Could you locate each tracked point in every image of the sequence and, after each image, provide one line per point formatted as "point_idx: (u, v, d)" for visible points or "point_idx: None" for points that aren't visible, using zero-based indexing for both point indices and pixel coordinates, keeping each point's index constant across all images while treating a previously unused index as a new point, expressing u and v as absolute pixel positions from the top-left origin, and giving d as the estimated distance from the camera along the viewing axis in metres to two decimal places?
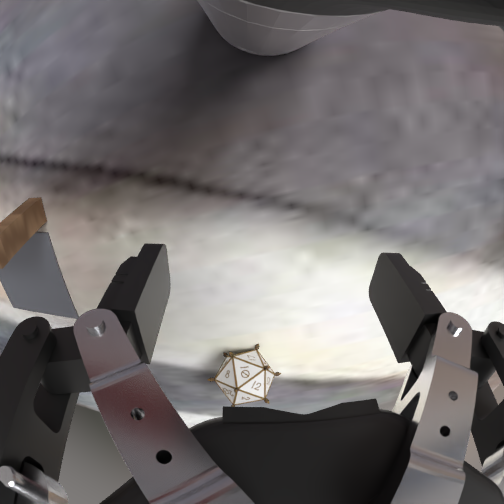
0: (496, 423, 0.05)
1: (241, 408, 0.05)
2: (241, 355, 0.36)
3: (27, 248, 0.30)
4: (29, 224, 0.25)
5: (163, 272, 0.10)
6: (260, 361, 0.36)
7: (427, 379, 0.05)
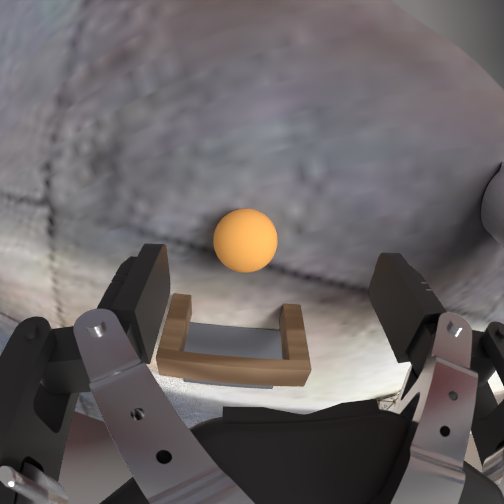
0: (496, 423, 0.05)
1: (241, 408, 0.05)
2: None
3: (252, 341, 0.37)
4: None
5: (163, 272, 0.10)
6: None
7: (427, 379, 0.05)
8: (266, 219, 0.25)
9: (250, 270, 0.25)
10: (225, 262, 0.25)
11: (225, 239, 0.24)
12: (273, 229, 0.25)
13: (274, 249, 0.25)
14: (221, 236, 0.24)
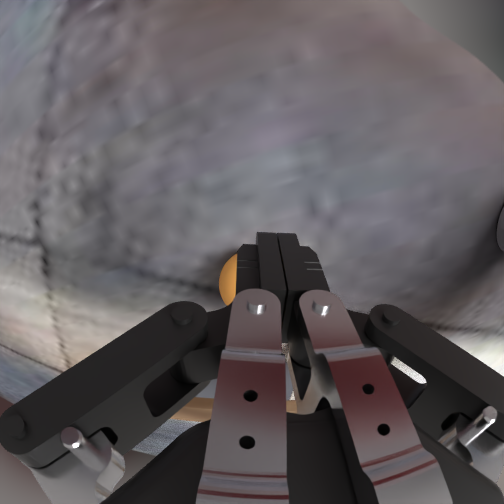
0: (429, 407, 0.06)
1: None
2: None
3: None
4: None
5: None
6: None
7: (328, 383, 0.05)
8: None
9: None
10: None
11: (232, 287, 0.22)
12: None
13: None
14: (228, 284, 0.22)
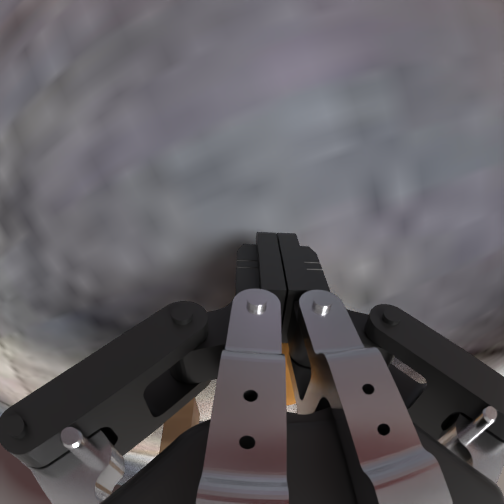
0: (429, 407, 0.06)
1: None
2: None
3: None
4: None
5: None
6: None
7: (328, 383, 0.05)
8: None
9: None
10: None
11: None
12: None
13: None
14: None
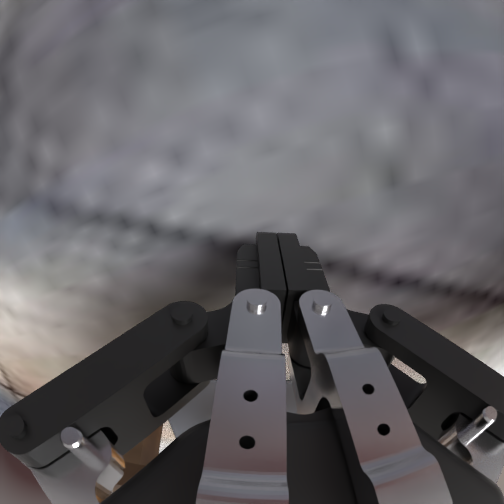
0: (429, 407, 0.06)
1: None
2: None
3: (287, 399, 0.20)
4: None
5: None
6: None
7: (328, 383, 0.05)
8: None
9: None
10: None
11: None
12: None
13: None
14: None
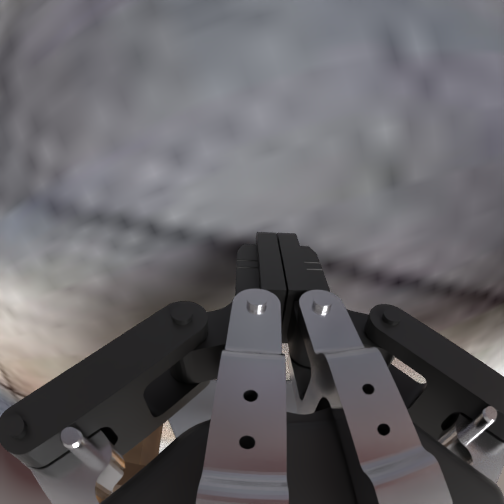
0: (429, 407, 0.06)
1: None
2: None
3: (287, 399, 0.20)
4: None
5: None
6: None
7: (328, 383, 0.05)
8: None
9: None
10: None
11: None
12: None
13: None
14: None
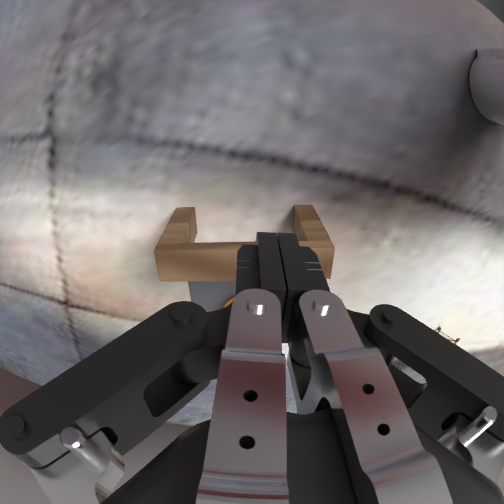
0: (429, 407, 0.06)
1: None
2: None
3: None
4: None
5: None
6: (449, 337, 0.39)
7: (328, 383, 0.05)
8: None
9: None
10: None
11: None
12: None
13: None
14: None
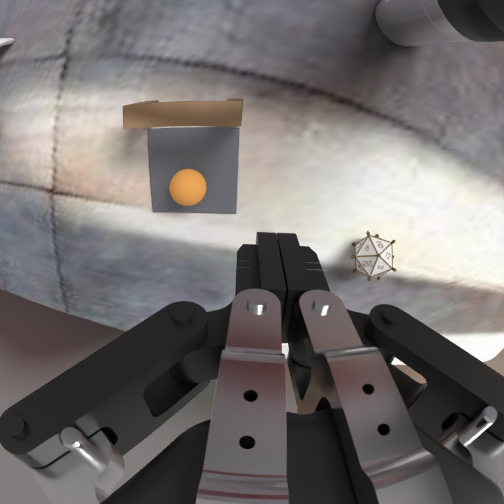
0: (429, 407, 0.06)
1: None
2: None
3: (208, 142, 0.42)
4: None
5: None
6: None
7: (328, 383, 0.05)
8: (194, 190, 0.41)
9: None
10: None
11: (174, 199, 0.43)
12: (199, 192, 0.42)
13: (202, 197, 0.44)
14: (172, 197, 0.43)
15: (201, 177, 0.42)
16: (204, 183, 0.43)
